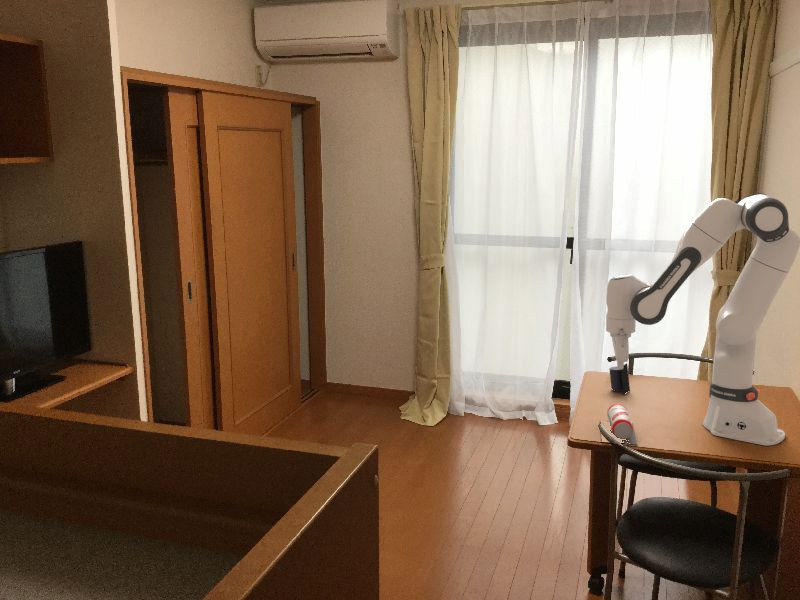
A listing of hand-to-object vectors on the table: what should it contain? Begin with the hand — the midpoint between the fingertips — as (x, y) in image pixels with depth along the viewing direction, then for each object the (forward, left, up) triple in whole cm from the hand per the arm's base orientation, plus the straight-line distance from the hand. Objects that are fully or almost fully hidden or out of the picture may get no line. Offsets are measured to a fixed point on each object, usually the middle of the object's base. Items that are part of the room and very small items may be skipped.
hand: (620, 368), depth 220 cm
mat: (-7, +12, -17) cm, 22 cm away
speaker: (+14, -24, -17) cm, 32 cm away
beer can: (-2, +4, -13) cm, 14 cm away
